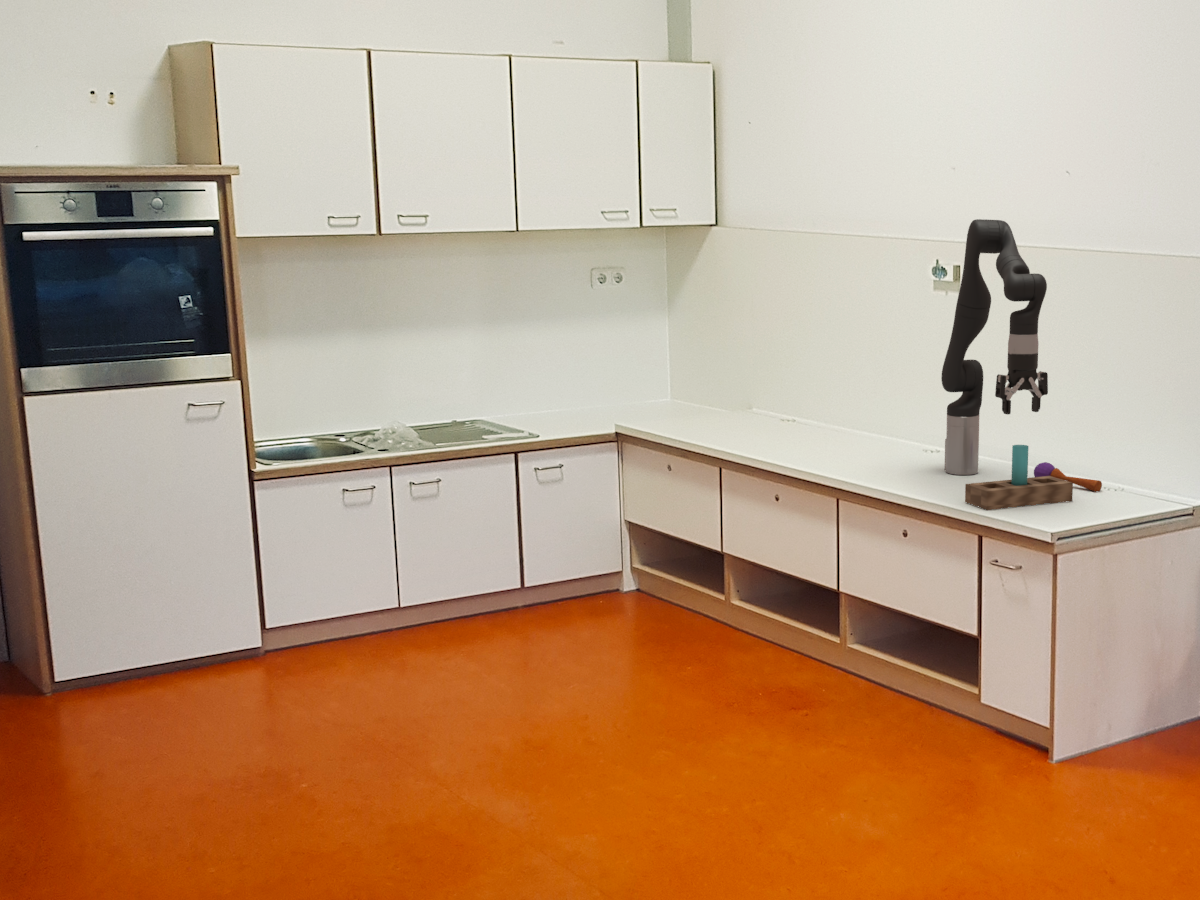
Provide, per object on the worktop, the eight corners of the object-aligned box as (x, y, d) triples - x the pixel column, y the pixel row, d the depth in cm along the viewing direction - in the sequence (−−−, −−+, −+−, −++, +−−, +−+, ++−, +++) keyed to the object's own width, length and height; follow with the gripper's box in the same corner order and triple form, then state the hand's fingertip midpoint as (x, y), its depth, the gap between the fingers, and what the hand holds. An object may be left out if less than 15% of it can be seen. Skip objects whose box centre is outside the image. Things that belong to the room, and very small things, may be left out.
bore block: (986, 510, 346) (986, 491, 345) (965, 502, 355) (965, 484, 354) (1072, 501, 353) (1072, 482, 352) (1049, 493, 363) (1049, 475, 362)
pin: (1007, 497, 355) (1009, 445, 353) (1020, 496, 357) (1022, 444, 354) (1016, 500, 352) (1018, 447, 349) (1029, 498, 353) (1031, 446, 350)
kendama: (1091, 479, 361) (1029, 464, 377) (1091, 500, 363) (1029, 483, 379) (1104, 473, 364) (1042, 457, 380) (1104, 493, 366) (1042, 477, 382)
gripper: (1037, 348, 353) (1035, 409, 356) (990, 351, 349) (989, 412, 351) (1055, 351, 346) (1053, 413, 348) (1007, 354, 341) (1005, 416, 344)
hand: (1020, 412), depth 350 cm, fingers open, 8 cm apart
